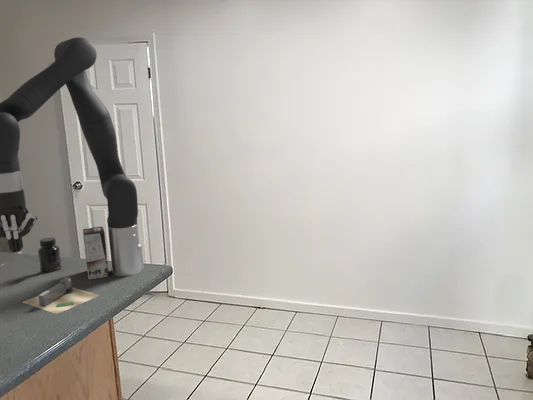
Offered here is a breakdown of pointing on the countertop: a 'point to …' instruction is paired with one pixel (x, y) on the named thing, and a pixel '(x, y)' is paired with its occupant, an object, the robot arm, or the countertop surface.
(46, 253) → the supplement bottle
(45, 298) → the tuning lever
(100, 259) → the coffee box
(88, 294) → the board
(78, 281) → the countertop surface
